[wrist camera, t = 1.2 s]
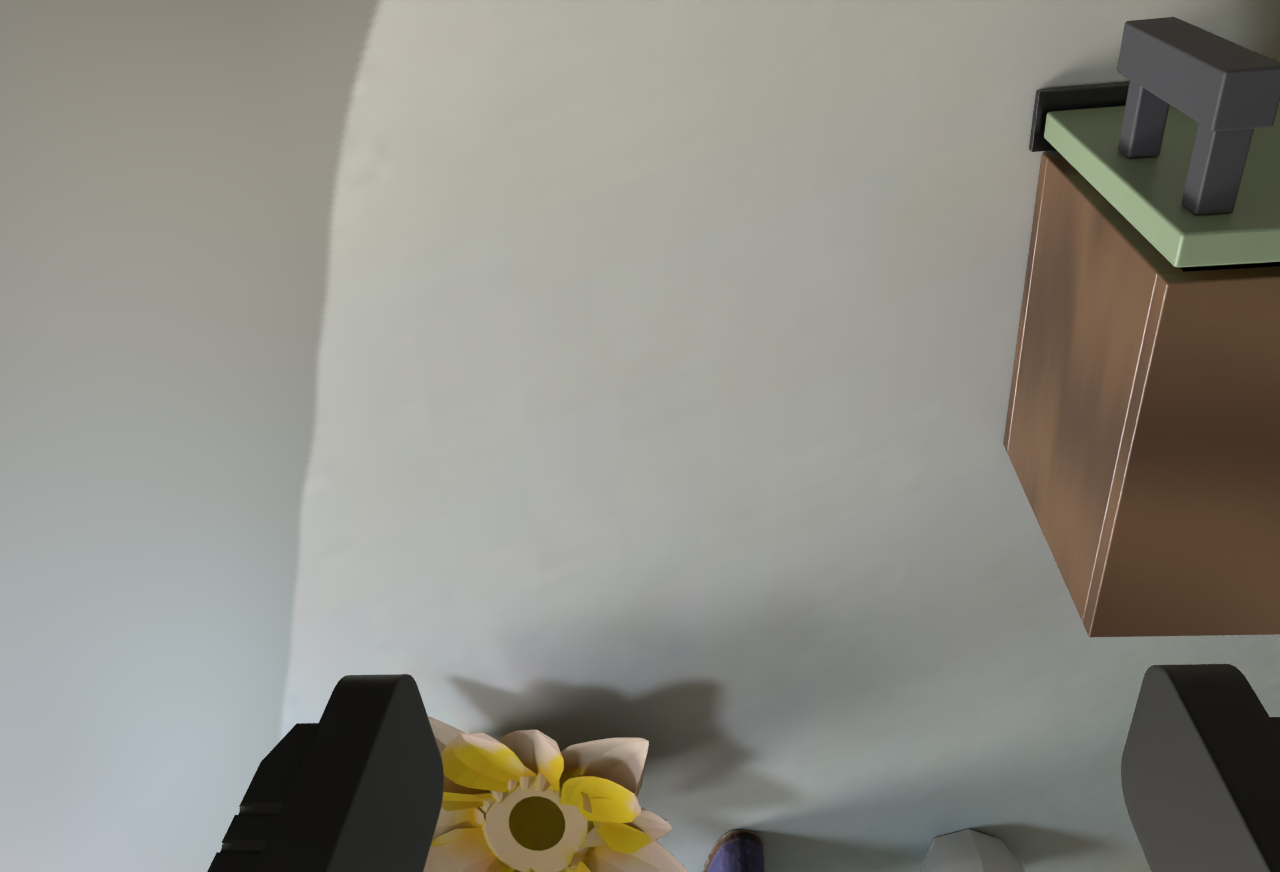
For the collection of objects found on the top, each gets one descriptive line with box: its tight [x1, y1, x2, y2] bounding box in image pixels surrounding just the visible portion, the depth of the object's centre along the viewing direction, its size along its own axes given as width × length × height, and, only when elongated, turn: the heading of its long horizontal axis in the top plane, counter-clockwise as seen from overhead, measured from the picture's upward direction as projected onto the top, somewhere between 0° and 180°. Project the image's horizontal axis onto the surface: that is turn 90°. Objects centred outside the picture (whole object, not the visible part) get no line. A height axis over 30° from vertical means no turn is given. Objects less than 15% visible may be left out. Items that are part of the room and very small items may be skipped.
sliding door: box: [1044, 17, 1280, 267], centre depth 23 cm, size 4×8×10 cm, turn 96°
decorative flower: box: [423, 717, 688, 872], centre depth 43 cm, size 15×11×10 cm
